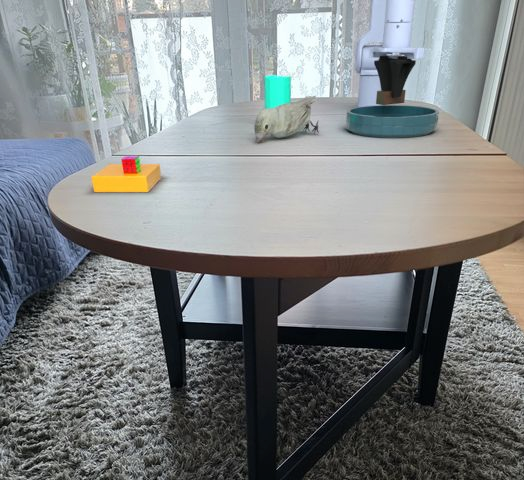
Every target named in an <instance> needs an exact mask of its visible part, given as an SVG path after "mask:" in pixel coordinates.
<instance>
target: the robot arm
mask: <svg viewBox="0 0 524 480" xmlns="http://www.w3.org/2000/svg"><path fill="white" fill-rule="evenodd" d="M415 7H416V0H370V7H369V18H368V19H369V20H368V29H367V31H365V32H364V33H363V34H361V36H360V37H358V39H357V42H356V48H355V53H354V72H356V73H357V74H358V75H359V78H358V79H359V80H358V92H357V94H358V95H357V106H356V107H363V106H376V105H379V104H376V98H377V91H382V90H391V93H392V97H401V94H402V91H403V90H404V87H405V85H406V82H407V80H408V78H409V75H410V74H411V72H412V70H413V68H414V67H415V66H416V63H417V60H424V58H425V50H426V48H425V47H411V42H412V35H413V34H412V33H413V25H414V18H415ZM366 44H369V45H366ZM370 44H372V45H370ZM373 44H378V45H373ZM397 53H398V54H397Z"/></svg>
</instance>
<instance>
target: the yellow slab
mask: <svg viewBox="0 0 524 480" xmlns="http://www.w3.org/2000/svg"><path fill="white" fill-rule="evenodd" d="M161 179H162V173H161V164H160V163H141V160H140V156H139V155H125V156H123V157H122V158H121V163H109V164H108V165H106V166H105V167H103V168H101V170H99V171H98V172H96V173H94V174H93V175H92V176H91V183H92V188H93V192H94V193H149V192H150V191H151V190H152V189H153V187H155V185H157V184H158V182H159V181H160V180H161Z"/></svg>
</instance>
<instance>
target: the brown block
mask: <svg viewBox="0 0 524 480" xmlns="http://www.w3.org/2000/svg"><path fill="white" fill-rule="evenodd" d="M406 92H407V91H406V89H403V91H402V94H401V97H392V93H391V90H382V91H377V98H376V104H379V105H400V104H405V99H406Z"/></svg>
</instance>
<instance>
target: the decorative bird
mask: <svg viewBox="0 0 524 480" xmlns="http://www.w3.org/2000/svg"><path fill="white" fill-rule="evenodd" d="M318 99H319V98H318V97H317V95H313V96H306V97H303V98H302V99H299V100H297V101H293V102H292V101H291V103H286V104H282V105H279V106H277V107H275V108H268V109H265V108H264V110H262V111H260V112H259V113H258V115H257V116H256V118H255V122H254V129H253V130H254V136H255V140H256V143H257V144H259V143H260V142H261V141H262V140H263V139H264V138H265V137H266V136H268V135H271V136H272V137H274V138H277V139H278V138H279V139H280V138H287V137H289V136H292V135H295V134H296V133H298V132H300V131H303V132H305V134H306V133H307V130H308V131H310V125H311V127H313V128H312V130H311V133H313V134H314V135H316V132H317V133H318V134H319V132H320V131H319V122H320V120H319V119H318V120H317V121H316V124H313V122H312V120H311V115H312V114H311V110H312V106H311V105H313V104H314V103H315V102H316V101H317V100H318Z"/></svg>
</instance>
